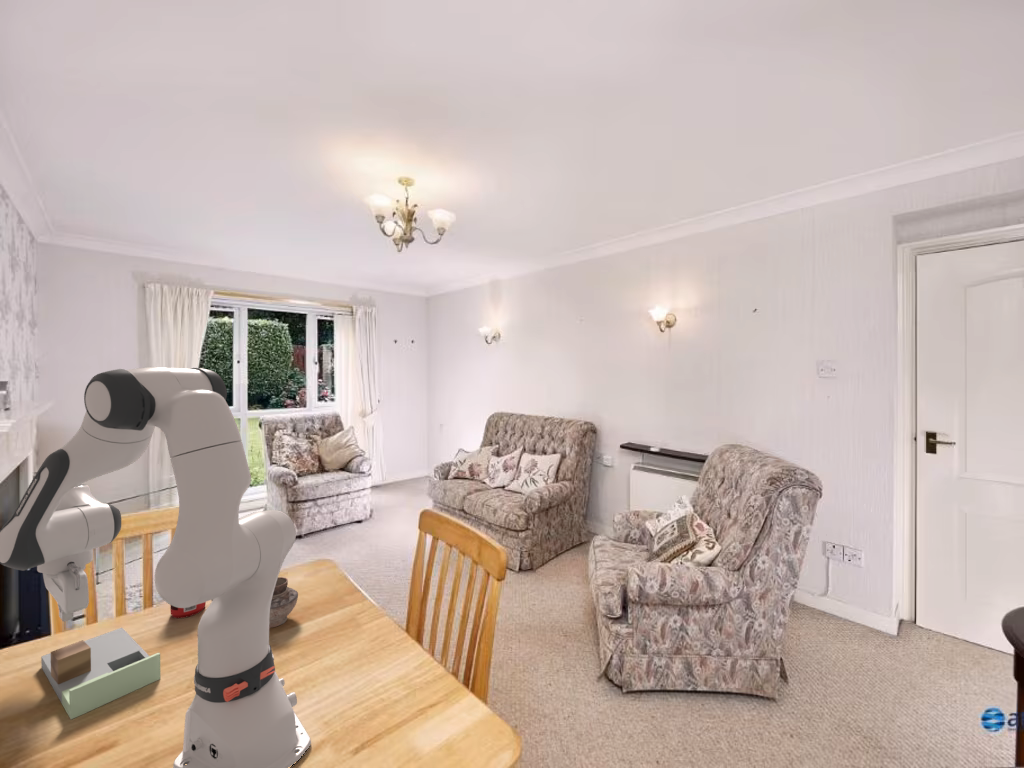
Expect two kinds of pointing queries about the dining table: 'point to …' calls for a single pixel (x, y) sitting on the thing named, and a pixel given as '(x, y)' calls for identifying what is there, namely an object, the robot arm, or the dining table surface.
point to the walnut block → (70, 661)
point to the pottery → (281, 602)
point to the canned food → (186, 610)
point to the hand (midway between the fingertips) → (66, 618)
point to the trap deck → (106, 673)
